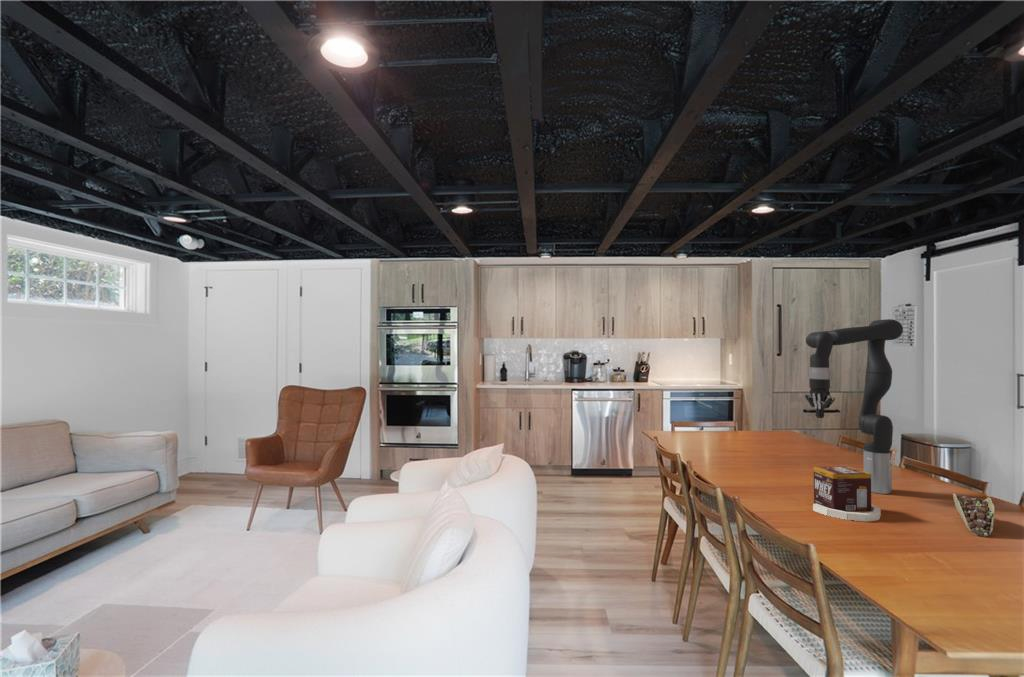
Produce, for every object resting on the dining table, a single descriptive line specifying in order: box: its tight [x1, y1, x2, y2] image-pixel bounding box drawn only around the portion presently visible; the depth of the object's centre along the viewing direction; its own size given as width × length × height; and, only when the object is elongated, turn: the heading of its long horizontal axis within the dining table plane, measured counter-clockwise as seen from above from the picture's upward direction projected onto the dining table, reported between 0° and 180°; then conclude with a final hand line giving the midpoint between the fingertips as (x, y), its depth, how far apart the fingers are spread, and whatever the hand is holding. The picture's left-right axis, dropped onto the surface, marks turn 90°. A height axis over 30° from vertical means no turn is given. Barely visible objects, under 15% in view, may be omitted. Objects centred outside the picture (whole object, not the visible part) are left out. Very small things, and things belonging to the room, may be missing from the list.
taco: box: [952, 493, 995, 537], centre depth 165 cm, size 10×27×10 cm, turn 143°
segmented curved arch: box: [812, 502, 882, 523], centre depth 175 cm, size 23×14×2 cm, turn 107°
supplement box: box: [813, 466, 872, 513], centre depth 179 cm, size 10×15×16 cm
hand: (819, 417), depth 203 cm, fingers closed
